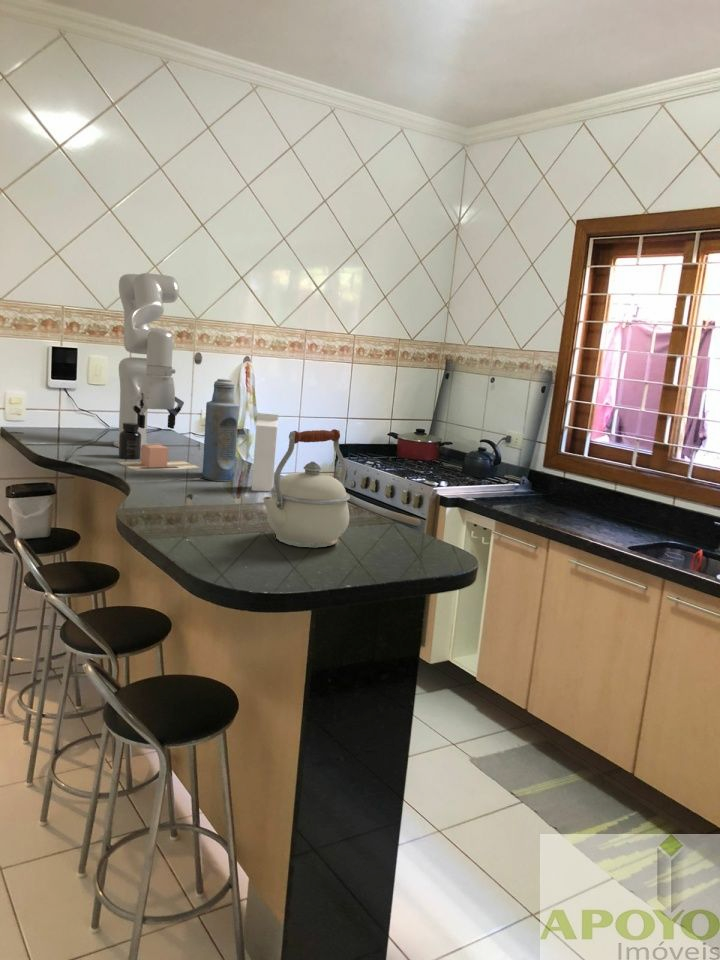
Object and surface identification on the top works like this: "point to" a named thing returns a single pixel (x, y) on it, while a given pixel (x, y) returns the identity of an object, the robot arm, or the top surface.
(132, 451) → the supplement bottle
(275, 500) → the kettle
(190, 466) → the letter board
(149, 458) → the terracotta block
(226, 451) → the bottle
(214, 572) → the top surface
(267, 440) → the milk
